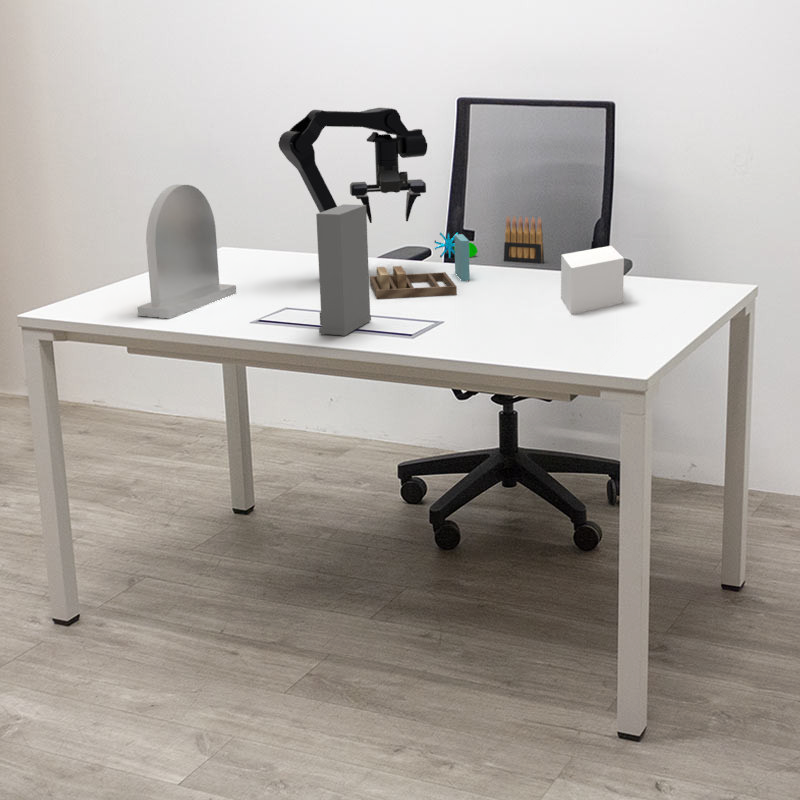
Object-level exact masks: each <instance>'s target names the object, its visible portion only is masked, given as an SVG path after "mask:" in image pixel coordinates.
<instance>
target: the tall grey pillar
mask: <svg viewBox="0 0 800 800" xmlns="http://www.w3.org/2000/svg"><path fill="white" fill-rule="evenodd" d="M315 214H316V232H317V233H316V234H317V235H316V236H317V257H318V275H319V277H318V278H319V280H318V281H319V295H320V296H319V297H320V312H319V326H320V327H319V328H318V333H319V334H320V335H322V336H324V335H333V336H334V335H335V336H341V337H346V336H347V335H349V334H350V333H352V332H354V331H355V330H357V329H358V328H360V327H362V326H364V325H365V324H367V323H370V321H372V315H371V306H370V305H371V304H370V303H371V302H370V275H369V273H370V272H369V252H368V251H369V250H368V249H369V246H368V244H369V243H368V220H367V219H368V216H367V213H366V205H363V204H344V203H343V204H341V205H337V207H335V208H332V209H329V210H326V211H323V212H318V213H315Z"/></svg>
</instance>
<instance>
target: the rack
mask: <svg viewBox="0 0 800 800" xmlns="http://www.w3.org/2000/svg"><path fill="white" fill-rule="evenodd" d="M438 282H443V283H444V285H445V284H446V285H445V286H440V285H439V283H438ZM389 283H390V289H384V290H380V289H379V287H378V285H377V275H369V286H370V287H371V290H372V291H373V294H374V295H375V298H376V300H385V299H386V300H387V299H388V300H389V299H401V298H402V299H403V298H407V299H408V298H420V297H421V298H422V297H441V296H442V297H443V296H457V294H458V293H457V292H458V289H457V285H456V283H454V281H453V280H452V278H450V276H449V274H448V273H446V272H445V271H444V272H427V273H426V272H425V273H423V272H422V273H406V286H407V288H404V289H397V288H396V286H395V284H394V280H393V274H389ZM413 283H415V284H416V283H428V285H429V286H428V287H426V286H425V287H424V286H423V287H414V286H413Z"/></svg>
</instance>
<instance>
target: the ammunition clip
mask: <svg viewBox="0 0 800 800" xmlns="http://www.w3.org/2000/svg"><path fill="white" fill-rule="evenodd" d="M511 221H512V223H511ZM530 221H531V222H530ZM530 221H529V218H528V216H525V219H524V223H523V218H522V216H519V218H518V223H517V218H516V215H513V216H512V220H511V217H510V215H507V217H506V219H505V231H504V232H505V233H504V244H503V245H504V247H503V248H504V249H503V261H504V262H507V263H508V262H513V263H523V264H524V263H525V264H540V265H541V264H544V263H545V257H544V255H545V253H544V241H543V238H544V236H543V225H542V219H541V217H540V216H539V217H538V219H537V223H536V220H535V217H534V216H532V217H531V220H530ZM536 224H537V225H536ZM511 225H512V226H511Z"/></svg>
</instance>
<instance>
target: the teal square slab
mask: <svg viewBox="0 0 800 800" xmlns="http://www.w3.org/2000/svg"><path fill="white" fill-rule="evenodd" d="M454 235H455V239H454V243H455V255H454V274H455V273H456V274H457V275H456V274H455V275H456V276H458V277H459V278H460V279H461V280H460V279H459V278H458V277H457V278H458V279H459V280H460V282H468V281H467V280H470V258H469V242H470V241H469V239H468V238H467V237H466V236H465V235H464V234H462V233H461V234H460V233H458V234H456V233H455V234H454Z"/></svg>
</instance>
